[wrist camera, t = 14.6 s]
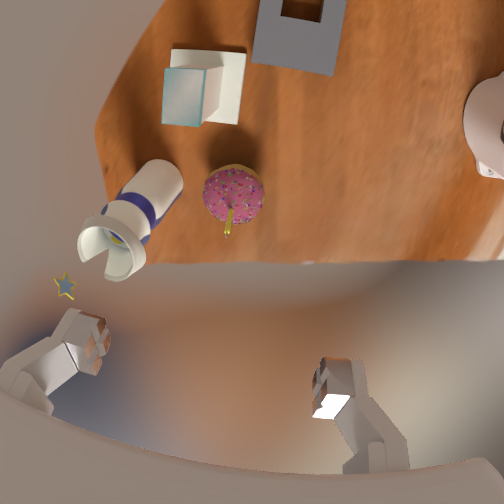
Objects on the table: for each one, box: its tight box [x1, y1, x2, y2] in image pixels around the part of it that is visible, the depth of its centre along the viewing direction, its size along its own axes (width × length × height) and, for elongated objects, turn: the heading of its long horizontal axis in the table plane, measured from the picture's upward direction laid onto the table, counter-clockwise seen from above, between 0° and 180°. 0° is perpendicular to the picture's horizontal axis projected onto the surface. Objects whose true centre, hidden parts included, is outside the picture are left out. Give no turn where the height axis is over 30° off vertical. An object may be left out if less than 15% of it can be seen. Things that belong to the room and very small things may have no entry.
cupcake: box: [202, 164, 265, 238], centre depth 42 cm, size 9×8×12 cm
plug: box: [162, 64, 224, 127], centre depth 34 cm, size 4×6×11 cm
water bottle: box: [53, 159, 183, 300], centre depth 38 cm, size 8×9×25 cm
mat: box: [170, 49, 247, 125], centre depth 39 cm, size 10×10×1 cm
